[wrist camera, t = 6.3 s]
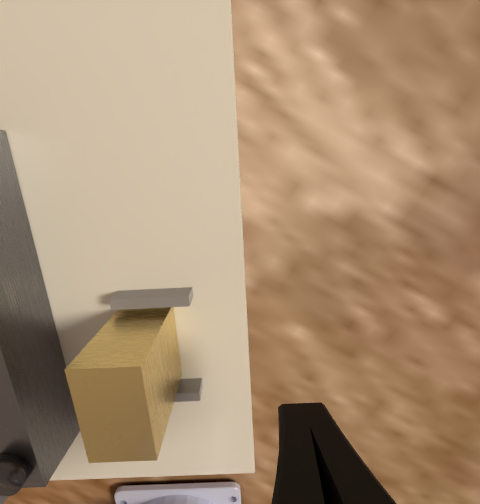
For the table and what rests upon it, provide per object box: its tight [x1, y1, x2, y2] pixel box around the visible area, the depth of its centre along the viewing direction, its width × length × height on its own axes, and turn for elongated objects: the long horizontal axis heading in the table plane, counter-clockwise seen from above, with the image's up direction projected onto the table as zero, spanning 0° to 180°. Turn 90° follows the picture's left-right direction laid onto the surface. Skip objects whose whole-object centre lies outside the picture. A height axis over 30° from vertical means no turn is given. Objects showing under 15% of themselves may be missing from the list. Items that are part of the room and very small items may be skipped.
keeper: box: [65, 307, 182, 463], centre depth 12 cm, size 4×2×4 cm, turn 3°
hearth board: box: [0, 0, 255, 504], centre depth 12 cm, size 24×20×4 cm
